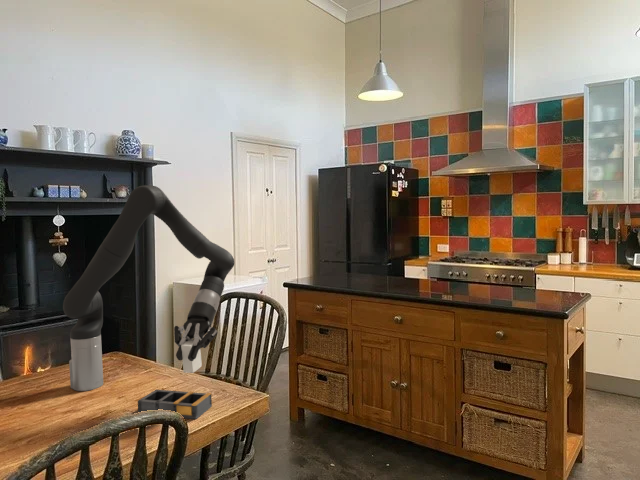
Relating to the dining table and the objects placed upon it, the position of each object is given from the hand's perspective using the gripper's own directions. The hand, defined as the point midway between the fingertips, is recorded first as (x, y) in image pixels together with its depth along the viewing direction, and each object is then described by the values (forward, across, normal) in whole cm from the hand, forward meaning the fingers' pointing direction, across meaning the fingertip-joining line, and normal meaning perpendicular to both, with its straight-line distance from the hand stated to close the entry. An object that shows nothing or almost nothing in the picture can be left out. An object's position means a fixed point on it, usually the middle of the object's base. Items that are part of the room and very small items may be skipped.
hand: (184, 359), depth 131 cm
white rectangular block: (0, 0, +6) cm, 6 cm away
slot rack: (+9, -6, +14) cm, 18 cm away
